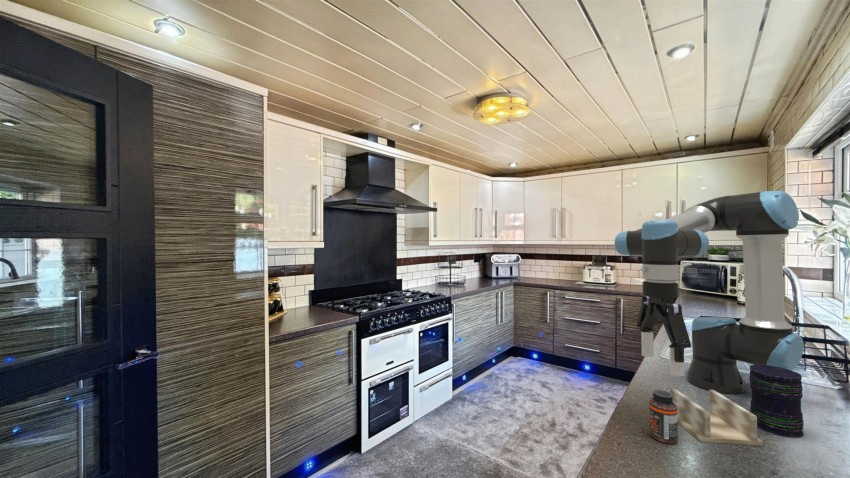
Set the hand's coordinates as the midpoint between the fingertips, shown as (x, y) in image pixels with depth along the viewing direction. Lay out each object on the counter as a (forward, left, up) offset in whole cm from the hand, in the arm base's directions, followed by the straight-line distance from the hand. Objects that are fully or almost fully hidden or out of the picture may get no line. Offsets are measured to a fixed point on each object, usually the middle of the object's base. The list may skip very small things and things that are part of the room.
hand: (661, 364), depth 86 cm
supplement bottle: (0, 0, -19) cm, 19 cm away
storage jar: (-32, -9, -19) cm, 38 cm away
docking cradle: (-15, -7, -18) cm, 25 cm away
